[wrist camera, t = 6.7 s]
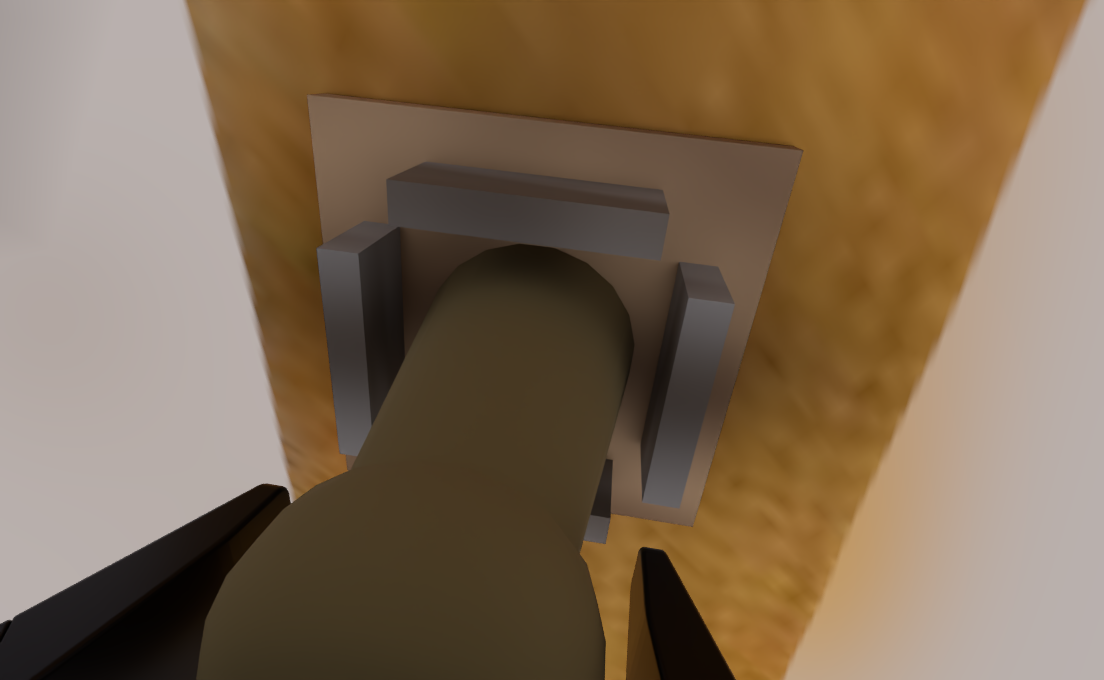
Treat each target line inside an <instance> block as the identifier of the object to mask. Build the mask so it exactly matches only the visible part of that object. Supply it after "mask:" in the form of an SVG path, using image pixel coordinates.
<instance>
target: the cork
mask: <svg viewBox="0 0 1104 680" xmlns="http://www.w3.org/2000/svg"><path fill="white" fill-rule="evenodd" d="M634 346H635V345H634V339H633V333H632V328H631V322H630V317H629V314H628V312H627V310H626V308H625V307H624V305H623V303H622V301H621V299H620V298H619V296H618V294H617V292H616V291H615V289H614V287H613V286H612V285H611V284H610V283H609V282H608V281H607V280H606V279H604V278H603V277H602V276H601V275H600V274H599V273H598V272H597V271H596V270H595V269H593V268H592V267H591V266H590V265H589V264H588V263H586V262H584V261H582V260H580V259H578V258H575V257H573V256H571V255H569V254H567V253H565V252H562V251H560V250H558V249H556V248H551V247H543V246H535V245H527V244H514V245H509V246H504V247H498V248H493V249H488V250H485V251H483V252H482V253H480V254H478V255H476V256H475V257H473V258H471V259H469V260H468V261H466V262H464V263H462V264H461V265H459V266H458V267H457V268H456V269H455V270H454V272H453V273H452V274H451V275H450V276H449V277H448V279H447V280H446V281H445V282H444V283H443V285H442V286H441V287H440V288H439V290H438V292H437V294H436V296H435V298H434V300H433V302H432V304H431V306H430V308H429V310H428V312H427V314H426V316H425V318H424V320H423V323H422V325H421V327H420V329H419V331H418V333H417V335H416V337H415V339H414V341H413V343H412V345H411V347H410V349H409V351H408V353H407V355H406V357H405V359H404V361H403V363H402V366H401V368H400V370H399V372H398V374H397V376H396V378H395V380H394V382H393V384H392V386H391V388H390V390H389V392H388V394H387V396H386V398H385V400H384V402H383V404H382V406H381V409H380V411H379V413H378V415H377V417H376V419H375V421H374V423H373V425H372V427H371V429H370V431H369V433H368V435H367V437H366V439H365V441H364V443H363V445H362V447H361V449H360V452H359V454H358V456H357V458H356V460H355V462H354V464H353V466H352V468H351V470H349V471H347V472H345V473H343V474H340V475H338V476H336V477H334V478H332V479H329V480H327V481H325V482H323V483H320V484H318V485H316V486H315V487H313V488H312V489H310V490H309V491H308V492H306V493H305V494H304V495H302V496H301V497H299V498H298V499H297V500H295V501H294V502H293V503H291V504H290V505H289V506H287V507H286V508H284V509H283V510H282V511H281V512H280V513H279V515H278V516H277V517H276V518H275V519H274V520H273V521H272V522H271V524H270V525H269V526H268V527H267V528H266V529H265V530H264V532H263V533H262V534H261V535H260V536H259V537H258V538H257V539H256V541H255V542H254V543H253V544H252V545H251V547H250V548H249V549H248V550H247V551H246V553H245V554H244V555H243V556H242V557H241V559H240V560H239V561H238V562H237V563H236V565H235V566H234V567H233V568H232V569H231V571H230V572H229V573H228V574H227V575H226V577H225V580H224V582H223V584H222V586H221V588H220V590H219V592H218V594H217V596H216V598H215V601H214V603H213V605H212V607H211V609H210V611H209V613H208V615H207V617H206V619H205V625H204V631H203V637H202V643H201V649H200V654H199V662H198V669H197V677H196V680H605V647H606V641H605V636H604V631H603V627H602V622H601V618H600V613H599V608H598V604H597V600H596V596H595V592H594V589H593V585H592V581H591V577H590V574H589V570H588V566H587V564H586V562H585V561H584V560H583V558H582V557H581V555H580V550H581V547H582V543H583V539H584V536H585V532H586V529H587V525H588V521H589V518H590V514H591V511H592V507H593V503H594V500H595V496H596V493H597V489H598V485H599V482H600V478H601V475H602V471H603V467H604V464H605V460H606V457H607V453H608V449H609V446H610V442H611V438H612V435H613V431H614V428H615V424H616V420H617V417H618V413H619V410H620V406H621V402H622V399H623V395H624V392H625V388H626V384H627V381H628V377H629V373H630V368H631V362H632V357H633V351H634Z"/></svg>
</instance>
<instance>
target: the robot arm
mask: <svg viewBox="0 0 1104 680" xmlns="http://www.w3.org/2000/svg"><path fill="white" fill-rule="evenodd" d="M290 504H291V502H290V497H289V492H288V490H287V489H286V488H285V487H283V486H278V485H272V484H261V485H259V486H256V487H254V488H253V489H251V490H249V491H247V492H245V493H243V494H241V495H240V496H238V497H236V498H234V499H232V500H230V501H228V502H227V503H225V504H223V505H221V506H219V507H217V508H215V509H214V510H212V511H210V512H208V513H206V514H204V515H202V516H201V517H199V518H197V519H195V520H193V521H192V522H190V523H187V524H186V525H184V526H182V527H180V528H178V529H176V530H174V531H173V532H171V533H169V534H167V535H165V536H163V537H161V538H160V539H158V540H156V541H154V542H152V543H150V544H148V545H147V546H145V547H143V548H141V549H139V550H137V551H135V552H134V553H132V554H130V555H128V556H126V557H124V558H123V559H121V560H119V561H117V562H115V563H113V564H112V565H109V566H107V567H106V568H104V569H102V570H100V571H98V572H96V573H95V574H93V575H91V576H89V577H87V578H85V579H83V580H81V581H80V582H78V583H76V584H74V585H72V586H70V587H69V588H67V589H65V590H63V591H61V592H59V593H57V594H55V595H53V596H52V597H50V598H48V599H46V600H44V601H42V602H41V603H39V604H37V605H35V606H33V607H31V608H29V609H28V610H26V611H24V612H22V613H20V614H18V615H17V616H15V617H14V618H13V620H7V621H5V622H3V623H1V624H0V680H196V677H197V669H198V662H199V654H200V649H201V643H202V637H203V631H204V625H205V619H206V617H207V615H208V613H209V611H210V609H211V607H212V605H213V603H214V601H215V598H216V596H217V594H218V592H219V590H220V588H221V586H222V584H223V582H224V580H225V577H226V575H227V574H228V573H229V572H230V571H231V569H232V568H233V567H234V566H235V565H236V563H237V562H238V561H239V560H240V559H241V557H242V556H243V555H244V554H245V553H246V551H247V550H248V549H249V548H250V547H251V545H252V544H253V543H254V542H255V541H256V539H257V538H258V537H259V536H260V535H261V534H262V533H263V532H264V530H265V529H266V528H267V527H268V526H269V525H270V524H271V522H272V521H273V520H274V519H275V518H276V517H277V516H278V515H279V513H280V512H281V511H282V510H283V509H284V508H286V507H287V506H289V505H290ZM626 680H736V679H735V677H734V676H733V674H732V672H731V670H730V668H729V666H728V665H727V663H726V661H725V659H724V657H723V656H722V654H721V652H720V650H719V648H718V646H717V645H716V643H715V641H714V639H713V637H712V635H711V634H710V632H709V630H708V628H707V626H706V625H705V623H704V621H703V619H702V617H701V615H700V614H699V612H698V610H697V608H696V606H695V605H694V603H693V601H692V599H691V597H690V595H689V594H688V592H687V590H686V588H685V586H684V585H683V583H682V581H681V579H680V577H679V575H678V574H677V572H676V570H675V568H674V566H673V564H672V563H671V561H670V559H669V557H668V555H667V554H666V553H665V552H664V551H663V550H659V549H653V548H647V547H642V548H640V550H639V552H638V556H637V561H636V565H635V569H634V573H633V578H632V583H631V591H630V609H629V629H628V648H627V668H626Z"/></svg>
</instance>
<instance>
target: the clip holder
mask: <svg viewBox="0 0 1104 680" xmlns="http://www.w3.org/2000/svg"><path fill="white" fill-rule="evenodd" d="M307 99H308V108H309V117H310V127H311V136H312V145H313V155H314V164H315V173H316V183H317V192H318V201H319V210H320V220H321V229H322V238H323V245H321V246H319V247H317V248H316V249H317V258H318V267H319V275H320V284H321V293H322V302H323V311H324V319H325V328H326V337H327V346H328V354H329V363H330V372H331V381H332V390H333V398H334V407H335V416H336V425H337V433H338V442H339V451H340V454H346V461H347V470H351V468H352V466H353V464H354V462H355V460H356V458H357V456H358V454H359V452H360V449H361V447H362V445H363V443H364V441H365V439H366V437H367V435H368V433H369V431H370V429H371V427H372V425H373V423H374V421H375V419H376V417H377V415H378V413H379V411H380V409H381V406H382V404H383V402H384V400H385V398H386V396H387V394H388V392H389V390H390V388H391V386H392V384H393V382H394V380H395V378H396V376H397V374H398V372H399V370H400V368H401V366H402V363H403V361H404V359H405V357H406V355H407V353H408V351H409V349H410V347H411V345H412V343H413V341H414V339H415V337H416V335H417V333H418V331H419V329H420V327H421V325H422V323H423V320H424V318H425V316H426V314H427V312H428V310H429V308H430V306H431V304H432V302H433V300H434V298H435V296H436V294H437V292H438V290H439V288H440V287H441V286H442V285H443V283H444V282H445V281H446V280H447V279H448V277H449V276H450V275H451V274H452V273H453V272H454V270H455V269H456V268H457V267H458V266H459V265H461V264H462V263H464V262H466V261H468V260H469V259H471V258H473V257H475V256H476V255H478V254H480V253H482V252H483V251H485V250H488V249H493V248H498V247H504V246H509V245H514V244H527V245H535V246H543V247H551V248H556V249H558V250H560V251H562V252H565V253H567V254H569V255H571V256H573V257H575V258H578V259H580V260H582V261H584V262H586V263H588V264H589V265H590V266H591V267H592V268H593V269H595V270H596V271H597V272H598V273H599V274H600V275H601V276H602V277H603V278H604V279H606V280H607V281H608V282H609V283H610V284H611V285H612V286H613V287H614V289H615V291H616V292H617V294H618V296H619V298H620V299H621V301H622V303H623V305H624V307H625V308H626V310H627V312H628V314H629V317H630V322H631V328H632V333H633V339H634V345H635V346H634V351H633V357H632V362H631V368H630V373H629V377H628V381H627V384H626V388H625V392H624V395H623V399H622V402H621V406H620V410H619V413H618V417H617V420H616V424H615V428H614V431H613V435H612V438H611V442H610V446H609V449H608V453H607V457H606V460H605V464H604V467H603V471H602V475H601V478H600V482H599V485H598V489H597V493H596V496H595V500H594V503H593V507H592V511H591V514H590V518H589V521H588V525H587V529H586V532H585V536H584V539H583V540H585V541H591V542H597V543H603V544H606V539H607V533H608V528H609V523H610V517H611V513H612V514H618V515H624V516H630V517H636V518H642V519H648V520H654V521H660V522H666V523H672V524H679V525H685V526H691V527H693V524H694V521H695V517H696V514H697V510H698V507H699V504H700V500H701V497H702V493H703V490H704V487H705V483H706V480H707V476H708V473H709V470H710V466H711V463H712V459H713V456H714V453H715V449H716V446H717V442H718V439H719V436H720V432H721V429H722V425H723V422H724V419H725V415H726V412H727V408H728V405H729V402H730V398H731V395H732V391H733V388H734V385H735V381H736V378H737V374H738V371H739V368H740V364H741V361H742V357H743V354H744V351H745V347H746V344H747V340H748V337H749V334H750V330H751V327H752V323H753V320H754V317H755V313H756V310H757V306H758V303H759V300H760V296H761V293H762V289H763V286H764V283H765V279H766V276H767V272H768V269H769V266H770V262H771V259H772V255H773V252H774V249H775V245H776V242H777V238H778V235H779V232H780V228H781V225H782V221H783V218H784V215H785V211H786V208H787V204H788V201H789V198H790V194H791V191H792V187H793V184H794V181H795V177H796V174H797V170H798V167H799V164H800V160H801V157H802V153H803V150H801V149H799V148H796V147H794V146H787V145H778V144H769V143H760V142H751V141H742V140H733V139H724V138H715V137H706V136H697V135H689V134H680V133H671V132H662V131H653V130H644V129H635V128H626V127H617V126H608V125H599V124H590V123H582V122H573V121H564V120H555V119H546V118H537V117H528V116H519V115H510V114H501V113H492V112H483V111H475V110H466V109H457V108H448V107H439V106H430V105H421V104H412V103H403V102H394V101H385V100H377V99H368V98H359V97H350V96H341V95H332V94H311V95H307Z"/></svg>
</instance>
